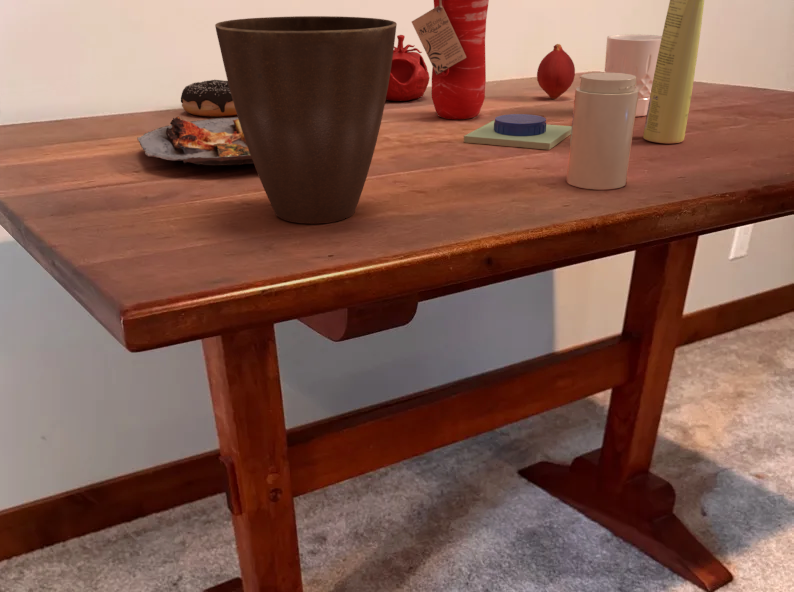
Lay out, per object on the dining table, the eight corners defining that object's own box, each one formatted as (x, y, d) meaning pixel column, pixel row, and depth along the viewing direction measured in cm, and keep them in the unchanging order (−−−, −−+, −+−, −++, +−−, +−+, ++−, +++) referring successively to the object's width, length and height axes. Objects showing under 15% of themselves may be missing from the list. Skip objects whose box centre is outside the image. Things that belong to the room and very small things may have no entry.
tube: (696, 140, 99) (728, -40, 89) (676, 147, 96) (707, -39, 86) (654, 134, 102) (680, -41, 92) (634, 140, 99) (659, -40, 89)
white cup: (666, 114, 114) (678, 37, 109) (625, 120, 111) (636, 41, 106) (627, 106, 120) (636, 33, 115) (587, 111, 117) (595, 36, 112)
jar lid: (486, 133, 100) (487, 121, 99) (503, 124, 105) (504, 112, 104) (537, 138, 97) (538, 125, 97) (551, 128, 102) (552, 116, 102)
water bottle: (444, 127, 107) (449, -91, 95) (401, 120, 112) (401, -89, 100) (499, 115, 115) (511, -89, 102) (457, 108, 120) (463, -87, 107)
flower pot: (354, 184, 83) (348, 12, 75) (427, 221, 71) (430, 23, 63) (214, 204, 77) (192, 20, 69) (270, 248, 65) (251, 34, 57)
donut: (171, 117, 116) (167, 88, 114) (202, 103, 126) (199, 76, 124) (244, 119, 114) (241, 89, 112) (269, 105, 125) (267, 77, 123)
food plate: (132, 140, 103) (127, 112, 101) (306, 126, 110) (305, 98, 108) (156, 187, 82) (150, 152, 81) (368, 165, 89) (367, 133, 88)
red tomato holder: (354, 98, 129) (352, 35, 124) (400, 91, 134) (400, 30, 130) (396, 106, 122) (396, 39, 117) (442, 98, 128) (443, 34, 123)
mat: (573, 132, 104) (573, 126, 103) (549, 150, 95) (550, 143, 95) (493, 126, 108) (493, 120, 108) (463, 142, 99) (463, 135, 99)
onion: (539, 95, 130) (543, 41, 126) (575, 96, 128) (580, 42, 124) (531, 100, 125) (535, 45, 121) (568, 102, 123) (574, 46, 119)
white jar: (631, 178, 83) (646, 73, 78) (619, 192, 79) (633, 82, 74) (574, 172, 86) (585, 70, 81) (559, 186, 81) (569, 78, 76)
